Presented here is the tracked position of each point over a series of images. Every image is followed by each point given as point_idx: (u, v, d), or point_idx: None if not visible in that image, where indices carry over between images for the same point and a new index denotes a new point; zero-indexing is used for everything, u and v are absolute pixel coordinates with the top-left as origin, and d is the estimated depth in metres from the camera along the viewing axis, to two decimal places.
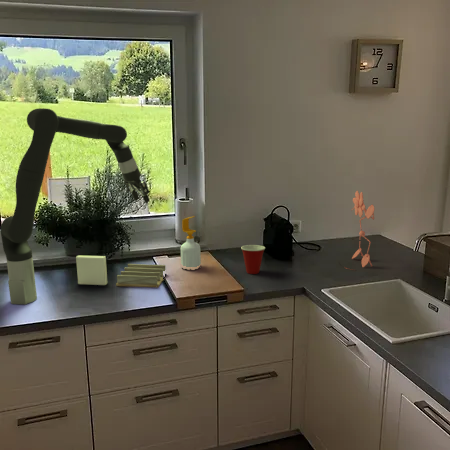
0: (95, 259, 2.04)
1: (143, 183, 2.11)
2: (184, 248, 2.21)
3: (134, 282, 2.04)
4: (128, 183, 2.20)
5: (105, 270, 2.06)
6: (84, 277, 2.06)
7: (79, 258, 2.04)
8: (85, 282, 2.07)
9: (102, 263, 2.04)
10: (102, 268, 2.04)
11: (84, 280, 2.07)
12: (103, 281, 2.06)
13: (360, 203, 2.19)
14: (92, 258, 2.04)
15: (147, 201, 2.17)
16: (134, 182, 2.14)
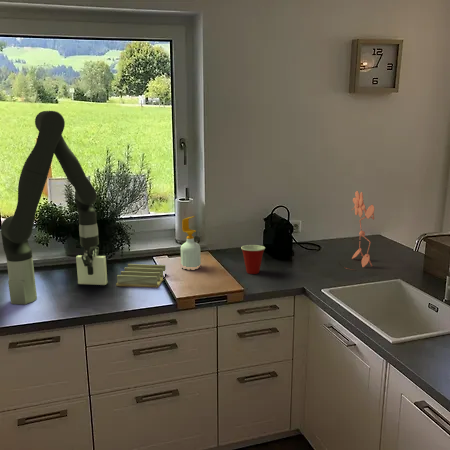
0: (95, 259, 2.04)
1: (84, 258, 1.98)
2: (184, 248, 2.21)
3: (134, 282, 2.04)
4: None
5: (105, 270, 2.06)
6: (84, 277, 2.06)
7: (79, 258, 2.04)
8: (85, 282, 2.07)
9: (102, 263, 2.04)
10: (102, 268, 2.04)
11: (84, 280, 2.07)
12: (103, 281, 2.06)
13: (360, 203, 2.19)
14: None
15: (89, 273, 2.04)
16: None
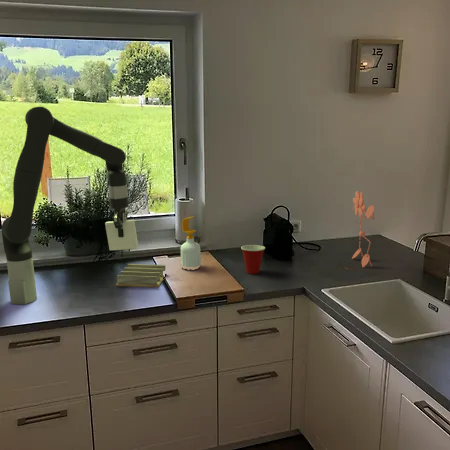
0: (124, 223, 2.03)
1: (115, 219, 1.97)
2: (184, 248, 2.21)
3: (134, 282, 2.04)
4: None
5: (135, 233, 2.05)
6: (115, 243, 2.06)
7: (108, 224, 2.04)
8: (116, 248, 2.06)
9: (132, 226, 2.03)
10: (132, 231, 2.03)
11: (115, 245, 2.06)
12: (135, 245, 2.05)
13: (360, 203, 2.19)
14: None
15: (119, 236, 2.03)
16: None
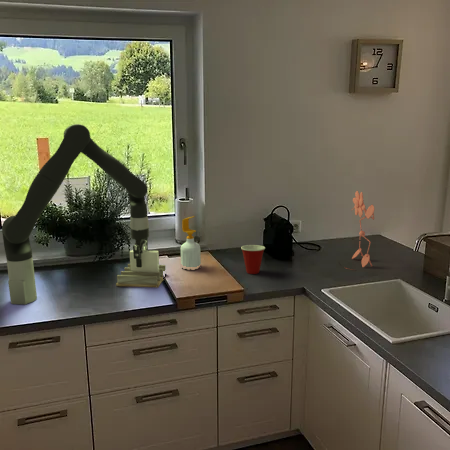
0: (149, 254, 2.07)
1: (136, 247, 2.01)
2: (184, 248, 2.21)
3: (134, 282, 2.04)
4: None
5: (158, 264, 2.09)
6: None
7: None
8: None
9: (155, 257, 2.07)
10: (155, 262, 2.07)
11: None
12: None
13: (360, 203, 2.19)
14: (146, 253, 2.07)
15: (137, 266, 2.05)
16: None
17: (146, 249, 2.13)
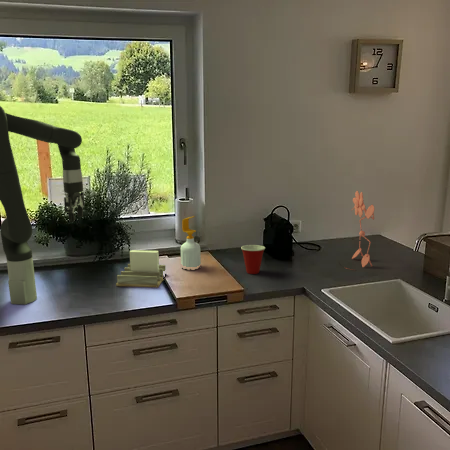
0: (149, 254, 2.07)
1: (67, 199, 1.93)
2: (184, 248, 2.21)
3: (134, 282, 2.04)
4: None
5: (158, 264, 2.09)
6: None
7: (133, 253, 2.08)
8: None
9: (155, 257, 2.07)
10: (155, 262, 2.07)
11: None
12: None
13: (360, 203, 2.19)
14: (146, 253, 2.07)
15: (69, 220, 1.96)
16: None
17: (83, 204, 2.06)
